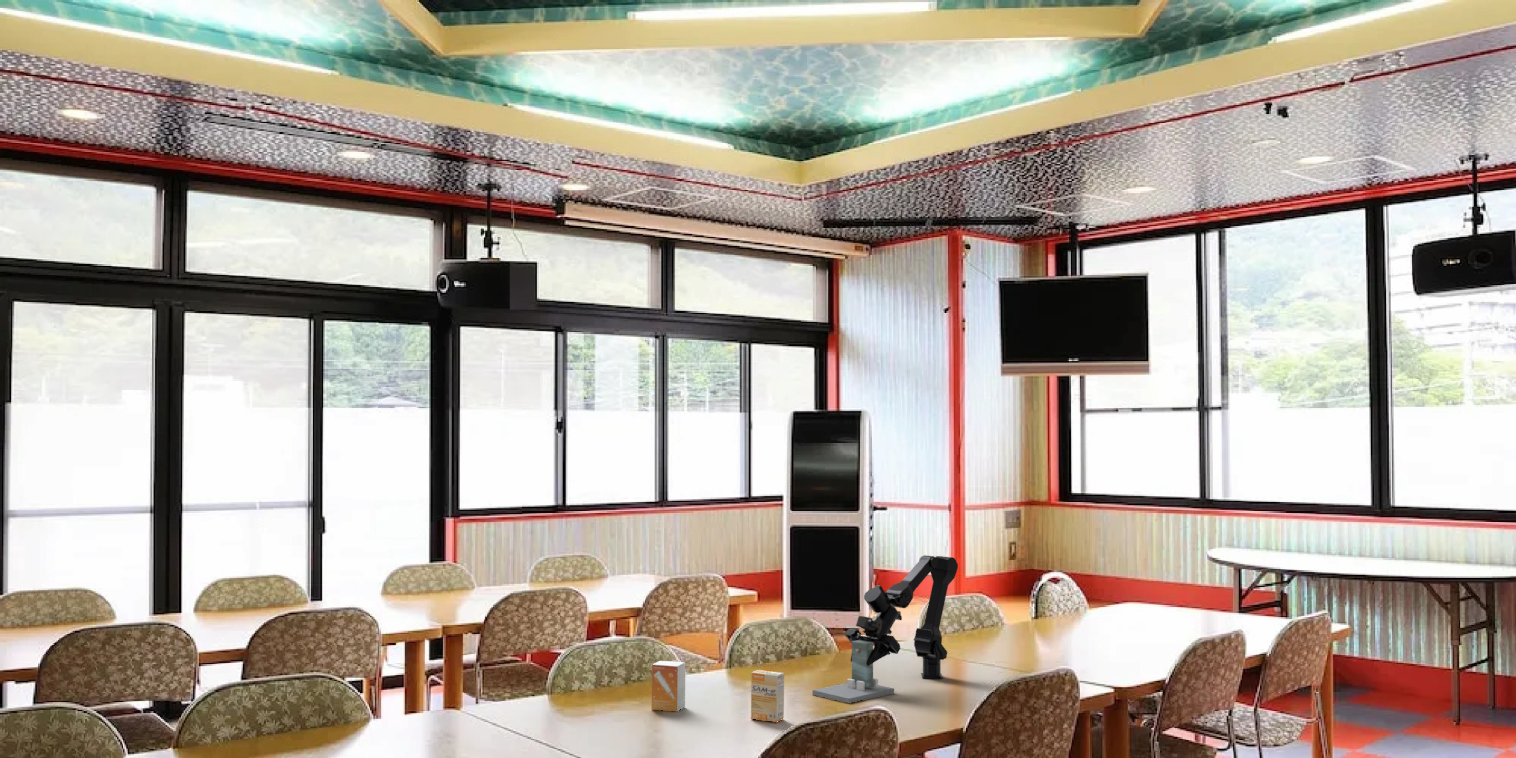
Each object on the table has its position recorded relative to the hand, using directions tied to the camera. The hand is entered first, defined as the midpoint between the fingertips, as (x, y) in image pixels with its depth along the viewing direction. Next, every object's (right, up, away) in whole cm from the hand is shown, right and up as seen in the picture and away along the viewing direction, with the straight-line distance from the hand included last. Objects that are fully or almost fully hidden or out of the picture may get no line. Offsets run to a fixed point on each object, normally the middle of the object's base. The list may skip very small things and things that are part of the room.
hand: (859, 663), depth 354 cm
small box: (-56, -8, -21) cm, 61 cm away
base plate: (-2, -9, -2) cm, 9 cm away
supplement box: (-28, -8, -34) cm, 45 cm away
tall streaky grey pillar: (+1, -7, +1) cm, 7 cm away
